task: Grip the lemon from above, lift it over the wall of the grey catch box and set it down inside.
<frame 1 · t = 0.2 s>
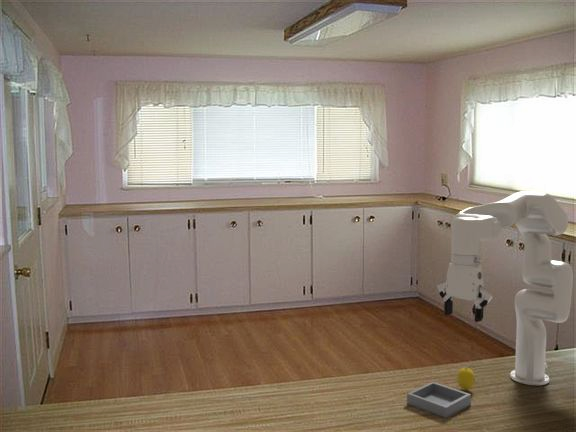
hand: (463, 317, 169), 31 cm above the worktop, tool pointing down, fingers open, 9 cm apart
lemon: (465, 391, 193), on the worktop
catch box: (438, 404, 182), on the worktop
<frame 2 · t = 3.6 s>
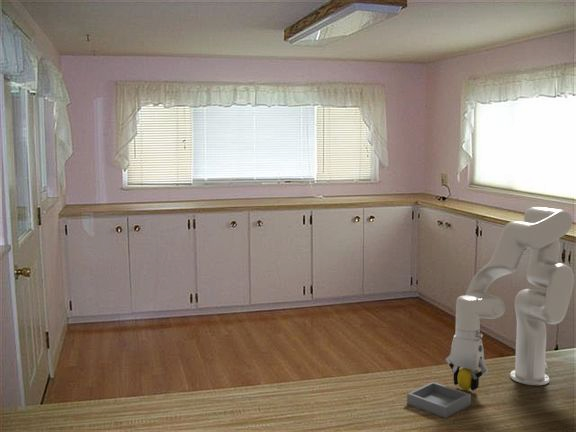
hand: (465, 386, 192), 2 cm above the worktop, tool pointing down, fingers closed on lemon, 5 cm apart
lemon: (465, 391, 193), on the worktop, touching gripper
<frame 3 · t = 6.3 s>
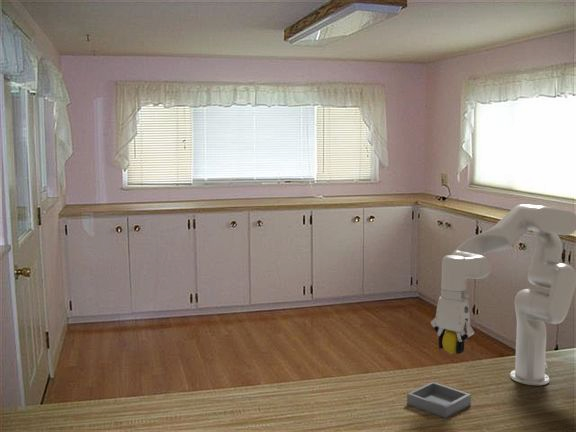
hand: (450, 349, 185), 16 cm above the worktop, tool pointing down, fingers closed on lemon, 5 cm apart
lemon: (450, 355, 185), point 14 cm above the worktop, touching gripper
when the fingers open (4 cm above the worktop, at t = 9.4 s): lemon drops 2 cm, resting on catch box.
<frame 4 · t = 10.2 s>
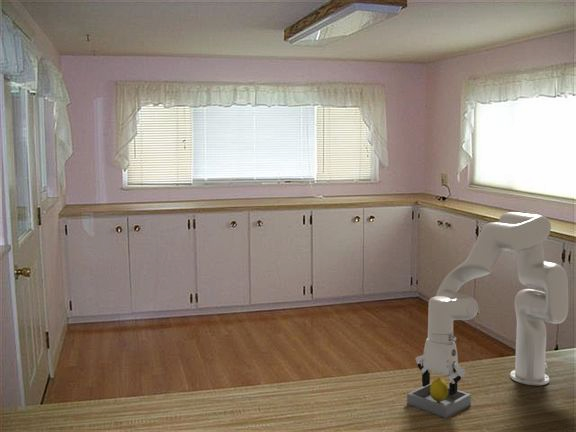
hand: (439, 389, 181), 5 cm above the worktop, tool pointing down, fingers open, 9 cm apart
lemon: (438, 403, 182), resting on catch box
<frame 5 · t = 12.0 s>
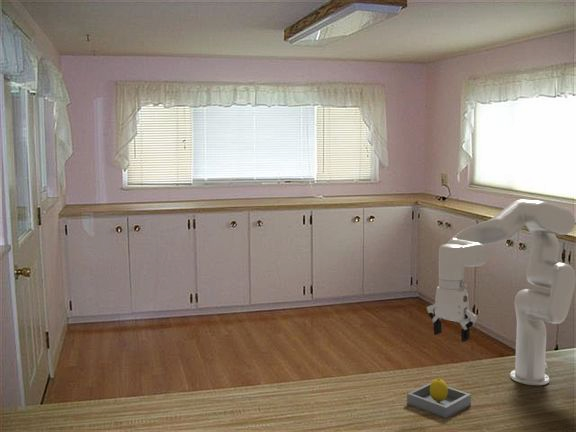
hand: (451, 337, 182), 21 cm above the worktop, tool pointing down, fingers open, 9 cm apart
nothing on the worktop moved.
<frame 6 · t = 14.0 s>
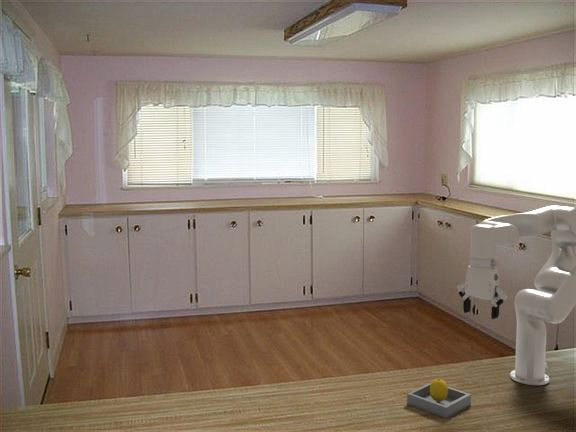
hand: (480, 315, 188), 26 cm above the worktop, tool pointing down, fingers open, 9 cm apart
nothing on the worktop moved.
at the end: lemon inside the target area on the catch box (0.3 cm from its centre), point 0.3 cm above the catch box's base; the gripper is holding nothing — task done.
